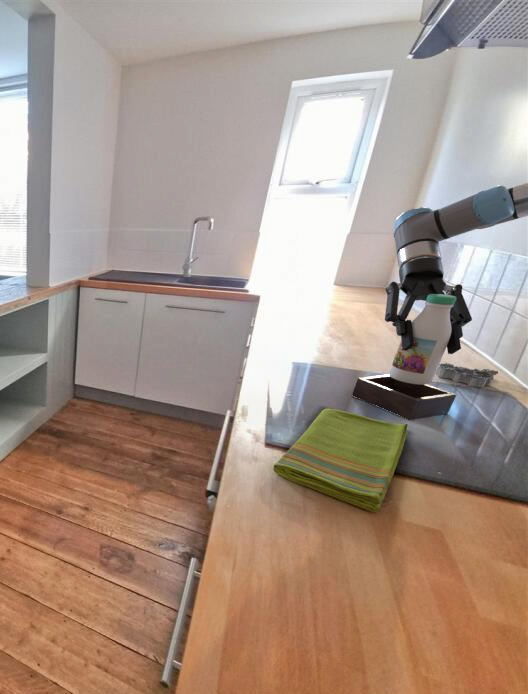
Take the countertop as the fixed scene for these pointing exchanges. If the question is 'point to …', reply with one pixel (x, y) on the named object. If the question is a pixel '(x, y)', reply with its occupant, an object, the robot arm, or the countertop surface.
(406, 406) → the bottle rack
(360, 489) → the dish towel
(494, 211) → the robot arm
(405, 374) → the milk bottle
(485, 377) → the egg carton
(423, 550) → the countertop surface
